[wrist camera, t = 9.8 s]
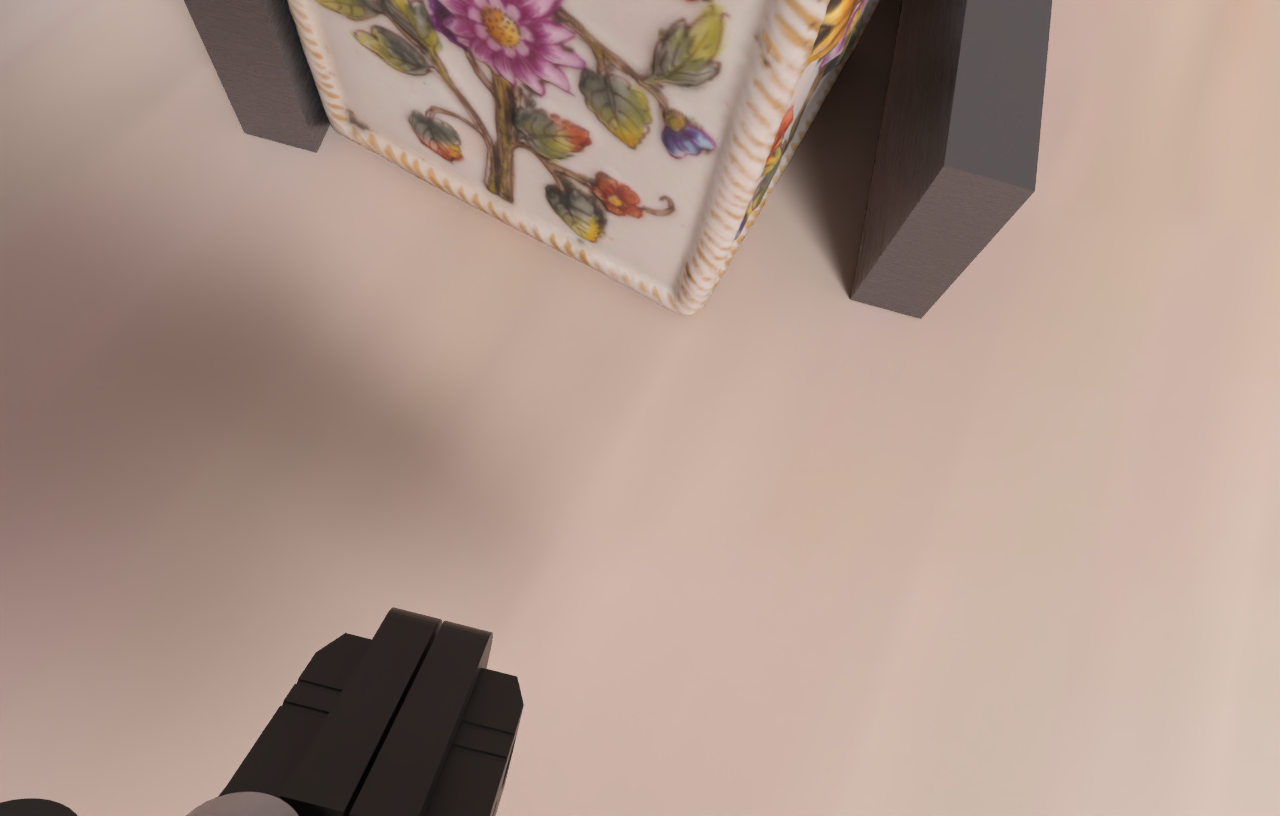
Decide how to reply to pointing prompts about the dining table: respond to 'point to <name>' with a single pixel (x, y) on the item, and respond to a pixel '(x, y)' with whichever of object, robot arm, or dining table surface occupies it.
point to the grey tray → (907, 147)
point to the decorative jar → (590, 114)
